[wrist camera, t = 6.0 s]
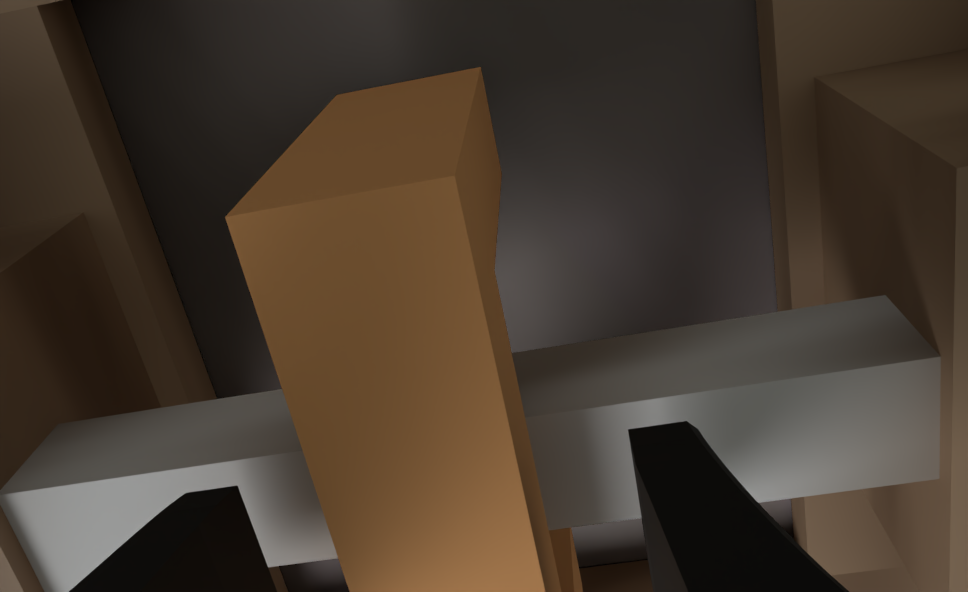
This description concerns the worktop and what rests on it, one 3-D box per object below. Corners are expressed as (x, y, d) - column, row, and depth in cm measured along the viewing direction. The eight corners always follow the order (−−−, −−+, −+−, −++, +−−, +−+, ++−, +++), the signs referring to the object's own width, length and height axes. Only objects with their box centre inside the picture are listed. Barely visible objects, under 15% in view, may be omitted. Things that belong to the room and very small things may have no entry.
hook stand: (1249, -543, 10) (1926, -947, 5) (1114, 622, 18) (1350, 914, 13) (-394, -133, 13) (-975, -149, 8) (75, 738, 20) (-74, 1019, 15)
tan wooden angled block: (581, 584, 16) (606, 873, 11) (469, 598, 16) (448, 887, 11) (481, 66, 12) (454, 175, 7) (336, 95, 12) (225, 217, 8)
